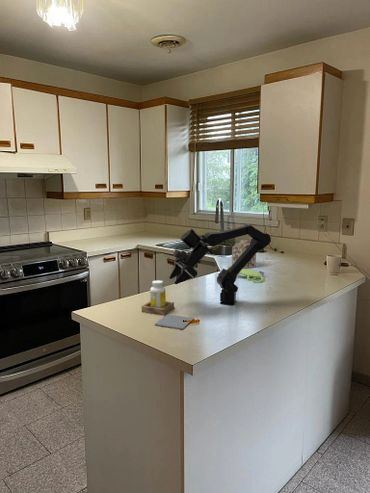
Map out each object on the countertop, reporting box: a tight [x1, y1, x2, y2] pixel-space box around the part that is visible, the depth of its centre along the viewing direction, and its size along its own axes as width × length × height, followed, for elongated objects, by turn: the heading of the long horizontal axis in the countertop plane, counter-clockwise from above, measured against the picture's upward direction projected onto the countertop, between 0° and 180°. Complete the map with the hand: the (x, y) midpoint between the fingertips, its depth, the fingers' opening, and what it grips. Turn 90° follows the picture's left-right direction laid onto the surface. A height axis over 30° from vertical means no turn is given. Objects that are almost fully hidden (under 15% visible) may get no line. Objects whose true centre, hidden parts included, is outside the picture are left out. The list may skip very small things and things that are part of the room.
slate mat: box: [154, 313, 195, 331], centre depth 150 cm, size 12×12×1 cm
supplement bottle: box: [149, 280, 167, 309], centre depth 164 cm, size 7×7×13 cm
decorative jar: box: [231, 239, 257, 269], centre depth 248 cm, size 12×12×18 cm
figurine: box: [227, 265, 265, 284], centre depth 222 cm, size 18×27×6 cm
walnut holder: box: [141, 300, 175, 316], centre depth 165 cm, size 11×11×2 cm
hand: (172, 281), depth 165 cm, fingers open, 9 cm apart
